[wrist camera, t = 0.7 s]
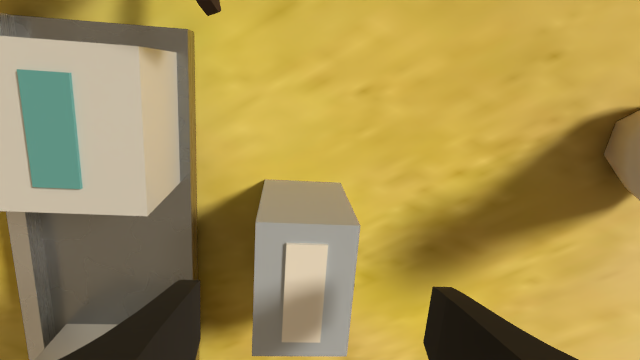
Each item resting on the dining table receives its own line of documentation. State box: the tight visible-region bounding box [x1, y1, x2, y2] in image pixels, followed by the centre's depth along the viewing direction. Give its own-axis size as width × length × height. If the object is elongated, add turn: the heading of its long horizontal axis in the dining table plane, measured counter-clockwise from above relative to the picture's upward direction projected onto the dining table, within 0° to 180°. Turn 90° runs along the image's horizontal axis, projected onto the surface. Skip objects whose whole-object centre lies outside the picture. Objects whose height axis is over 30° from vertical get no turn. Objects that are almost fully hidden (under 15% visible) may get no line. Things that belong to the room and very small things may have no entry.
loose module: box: [252, 180, 360, 356], centre depth 18 cm, size 6×4×6 cm, turn 176°
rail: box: [0, 13, 199, 360], centre depth 19 cm, size 22×8×2 cm, turn 176°
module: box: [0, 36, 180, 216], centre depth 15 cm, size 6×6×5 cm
